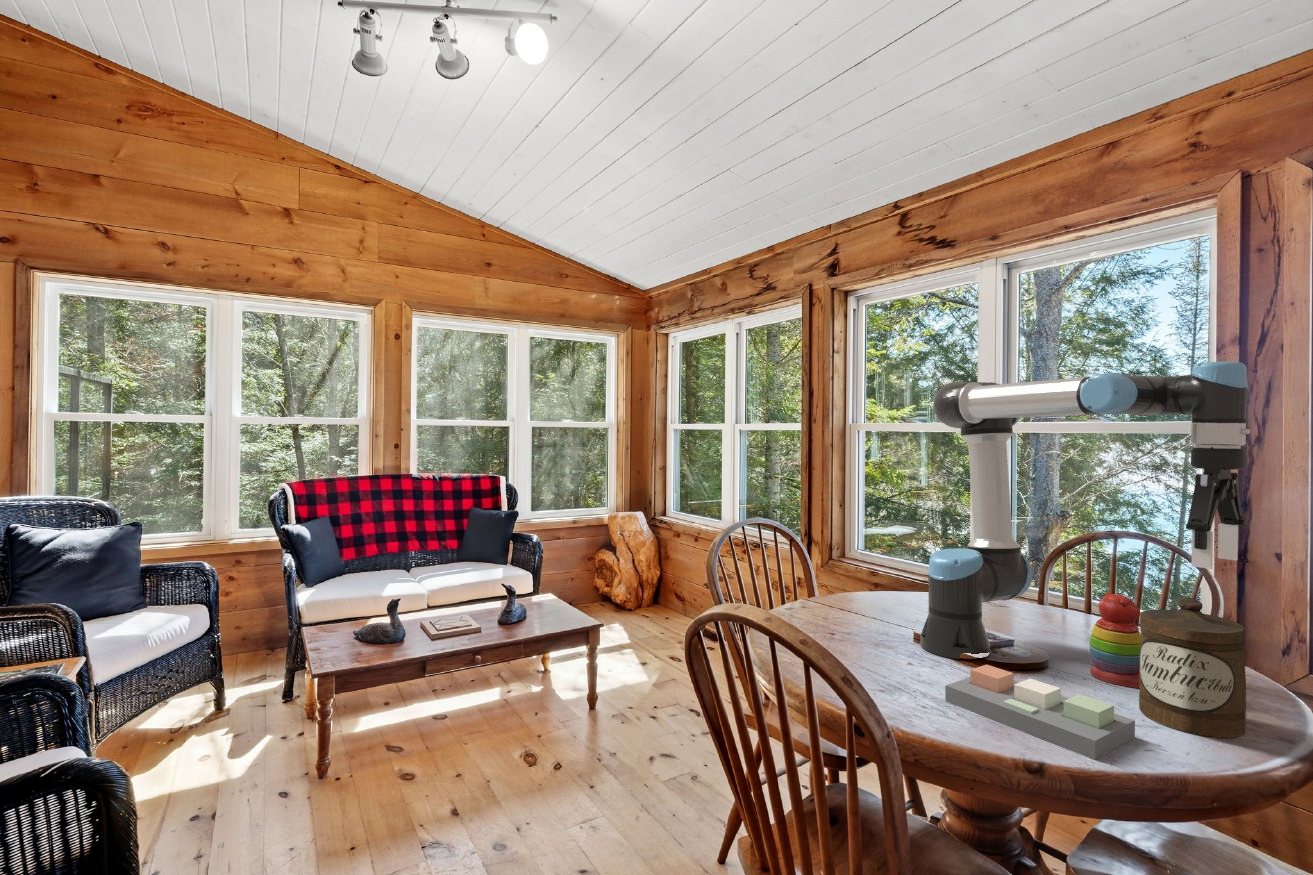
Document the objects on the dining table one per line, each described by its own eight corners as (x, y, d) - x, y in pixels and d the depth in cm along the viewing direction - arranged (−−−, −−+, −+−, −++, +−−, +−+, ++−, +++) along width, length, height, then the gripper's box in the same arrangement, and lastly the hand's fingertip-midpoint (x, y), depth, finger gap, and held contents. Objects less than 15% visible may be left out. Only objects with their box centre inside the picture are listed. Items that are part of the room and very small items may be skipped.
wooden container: (1127, 715, 117) (1128, 596, 117) (1153, 695, 126) (1154, 584, 126) (1234, 747, 106) (1235, 614, 105) (1254, 723, 115) (1255, 600, 114)
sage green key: (1063, 718, 110) (1063, 700, 110) (1079, 711, 113) (1079, 694, 113) (1098, 730, 106) (1098, 712, 106) (1113, 722, 109) (1114, 705, 108)
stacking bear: (1159, 690, 129) (1160, 602, 129) (1103, 686, 131) (1104, 599, 131) (1131, 670, 140) (1132, 589, 140) (1079, 667, 142) (1080, 587, 142)
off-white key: (1014, 700, 117) (1014, 684, 117) (1030, 694, 120) (1030, 678, 120) (1044, 711, 113) (1045, 694, 113) (1060, 704, 116) (1060, 688, 116)
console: (945, 700, 123) (945, 683, 123) (987, 686, 131) (987, 669, 131) (1094, 759, 101) (1095, 738, 101) (1134, 737, 109) (1135, 717, 109)
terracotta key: (970, 684, 125) (970, 669, 125) (986, 679, 128) (986, 664, 127) (997, 694, 120) (997, 678, 120) (1013, 688, 123) (1013, 673, 123)
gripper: (1221, 448, 106) (1218, 575, 107) (1266, 446, 120) (1263, 559, 121) (1166, 447, 113) (1163, 567, 113) (1215, 445, 126) (1212, 552, 127)
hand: (1215, 563), depth 117 cm, fingers open, 13 cm apart
